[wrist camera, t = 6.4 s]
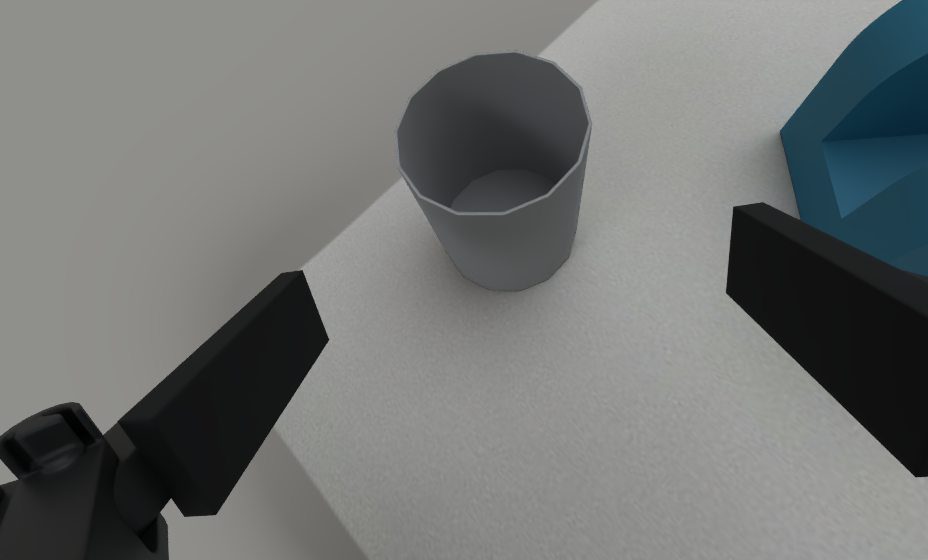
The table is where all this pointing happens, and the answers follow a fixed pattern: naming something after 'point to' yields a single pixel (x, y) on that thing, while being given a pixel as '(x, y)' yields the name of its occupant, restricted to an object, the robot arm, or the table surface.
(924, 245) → the camera mount
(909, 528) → the table surface
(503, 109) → the cup
